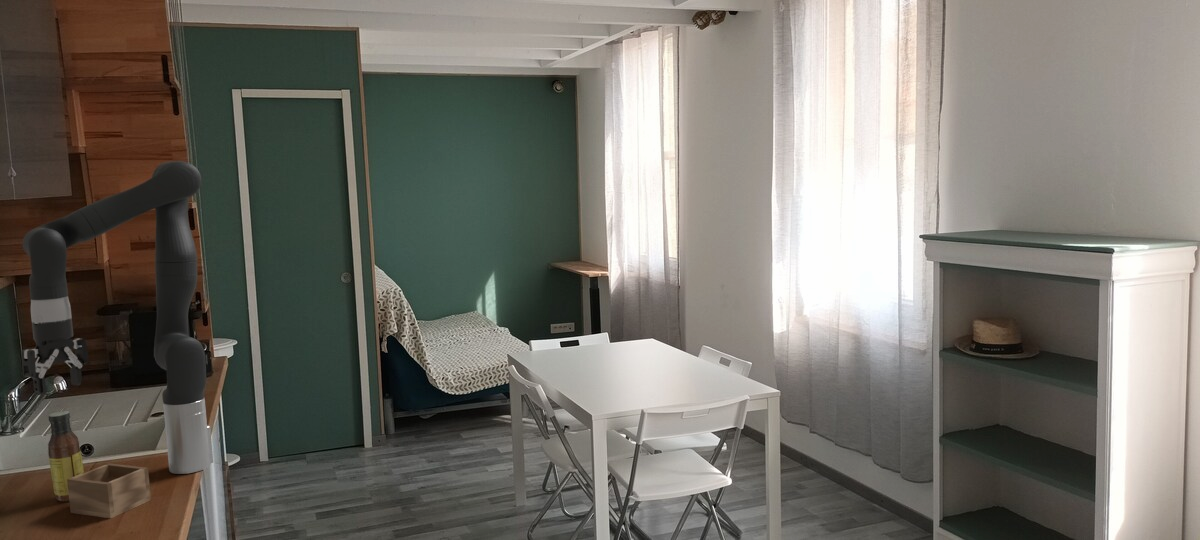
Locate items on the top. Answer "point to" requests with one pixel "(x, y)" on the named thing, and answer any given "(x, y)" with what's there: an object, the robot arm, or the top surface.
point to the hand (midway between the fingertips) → (59, 389)
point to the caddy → (109, 490)
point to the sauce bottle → (63, 454)
